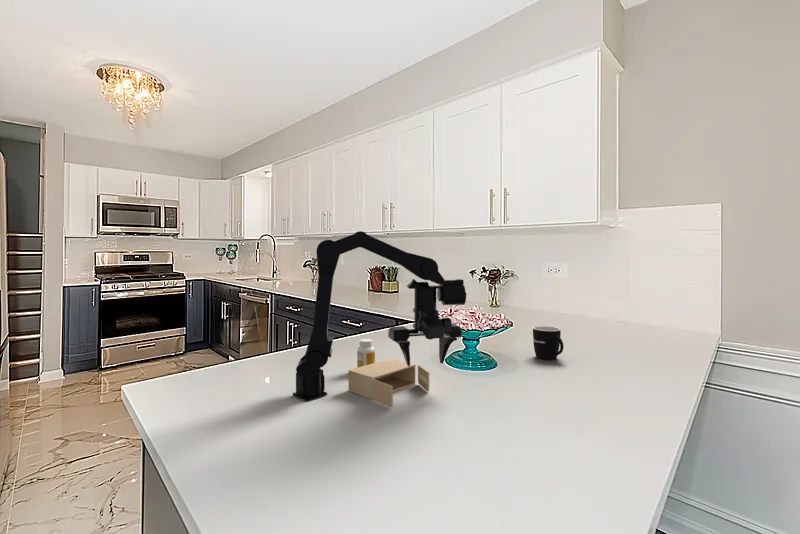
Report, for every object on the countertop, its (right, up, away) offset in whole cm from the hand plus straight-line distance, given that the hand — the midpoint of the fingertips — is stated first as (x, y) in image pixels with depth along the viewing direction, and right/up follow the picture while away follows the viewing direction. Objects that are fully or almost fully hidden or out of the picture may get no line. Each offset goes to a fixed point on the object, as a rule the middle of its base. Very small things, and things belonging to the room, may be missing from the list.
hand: (425, 364), depth 111 cm
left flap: (-11, -7, -10) cm, 16 cm away
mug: (+44, -6, +32) cm, 55 cm away
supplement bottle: (-17, -7, +18) cm, 25 cm away
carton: (-11, -7, +3) cm, 13 cm away
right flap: (0, -6, +2) cm, 7 cm away
